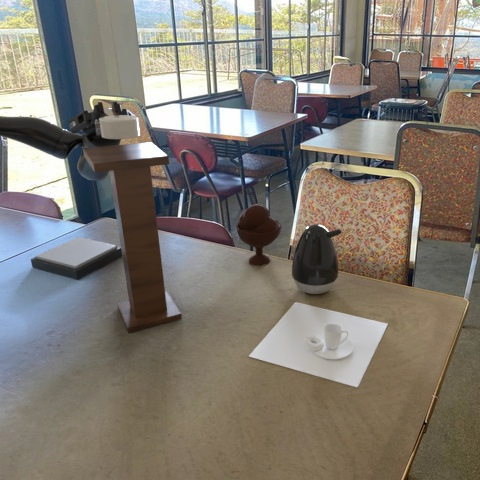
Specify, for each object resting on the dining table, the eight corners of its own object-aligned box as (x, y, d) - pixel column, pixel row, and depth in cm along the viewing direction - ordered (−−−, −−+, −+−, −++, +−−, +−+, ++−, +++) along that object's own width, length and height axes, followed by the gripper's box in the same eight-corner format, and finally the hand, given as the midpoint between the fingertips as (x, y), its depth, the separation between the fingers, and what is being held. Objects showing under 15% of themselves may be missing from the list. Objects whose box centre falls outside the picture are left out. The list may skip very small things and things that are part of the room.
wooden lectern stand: (109, 301, 99) (82, 148, 86) (167, 287, 105) (150, 142, 92) (122, 334, 89) (94, 165, 76) (186, 317, 95) (170, 157, 82)
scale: (30, 267, 112) (28, 256, 111) (79, 245, 124) (77, 234, 123) (77, 279, 107) (75, 268, 106) (123, 255, 119) (121, 244, 118)
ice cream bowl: (289, 263, 117) (289, 205, 111) (248, 274, 112) (246, 214, 105) (268, 248, 125) (268, 193, 119) (229, 257, 119) (226, 200, 113)
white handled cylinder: (89, 123, 94) (86, 107, 93) (123, 121, 97) (121, 105, 96) (104, 140, 81) (102, 122, 79) (144, 137, 84) (142, 119, 82)
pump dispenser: (339, 301, 102) (342, 235, 96) (290, 299, 102) (290, 233, 96) (337, 278, 111) (340, 217, 105) (293, 277, 111) (293, 215, 105)
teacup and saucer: (299, 353, 85) (299, 334, 83) (315, 329, 92) (316, 311, 90) (345, 366, 82) (347, 346, 80) (359, 340, 89) (361, 322, 87)
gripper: (138, 151, 108) (150, 123, 93) (70, 157, 102) (72, 128, 87) (131, 119, 109) (142, 86, 94) (63, 123, 102) (63, 88, 87)
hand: (108, 106), depth 90 cm, fingers closed on white handled cylinder, 2 cm apart
